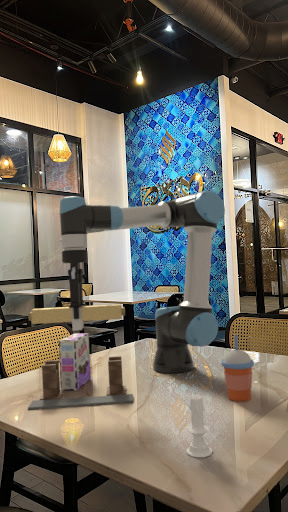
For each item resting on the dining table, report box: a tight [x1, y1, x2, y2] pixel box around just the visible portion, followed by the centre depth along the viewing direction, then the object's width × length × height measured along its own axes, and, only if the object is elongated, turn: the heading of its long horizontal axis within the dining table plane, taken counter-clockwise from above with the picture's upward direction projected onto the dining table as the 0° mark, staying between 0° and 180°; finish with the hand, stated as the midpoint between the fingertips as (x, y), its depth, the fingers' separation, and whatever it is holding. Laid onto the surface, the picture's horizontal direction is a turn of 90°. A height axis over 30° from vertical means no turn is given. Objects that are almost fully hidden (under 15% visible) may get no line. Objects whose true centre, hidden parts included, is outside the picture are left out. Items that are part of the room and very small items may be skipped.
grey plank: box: [27, 393, 134, 411], centre depth 122 cm, size 30×6×1 cm, turn 93°
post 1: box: [39, 359, 65, 400], centre depth 129 cm, size 6×8×10 cm
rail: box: [28, 303, 126, 325], centre depth 122 cm, size 28×4×4 cm, turn 93°
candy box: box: [58, 332, 92, 392], centre depth 140 cm, size 14×6×16 cm, turn 168°
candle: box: [186, 393, 213, 459], centre depth 87 cm, size 5×5×12 cm
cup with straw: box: [221, 334, 255, 402], centre depth 119 cm, size 9×9×18 cm
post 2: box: [105, 355, 127, 396], centre depth 130 cm, size 6×8×10 cm
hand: (78, 328), depth 122 cm, fingers closed on rail, 3 cm apart
